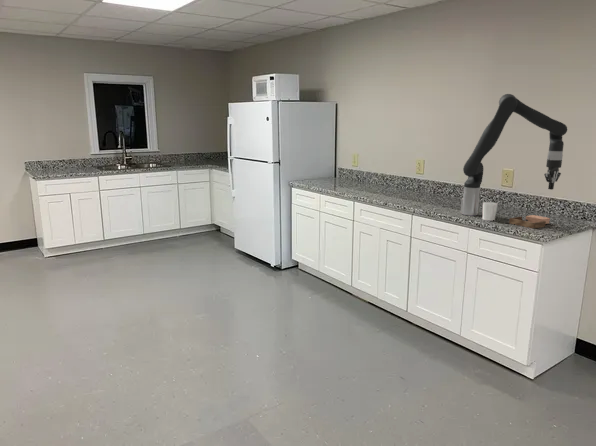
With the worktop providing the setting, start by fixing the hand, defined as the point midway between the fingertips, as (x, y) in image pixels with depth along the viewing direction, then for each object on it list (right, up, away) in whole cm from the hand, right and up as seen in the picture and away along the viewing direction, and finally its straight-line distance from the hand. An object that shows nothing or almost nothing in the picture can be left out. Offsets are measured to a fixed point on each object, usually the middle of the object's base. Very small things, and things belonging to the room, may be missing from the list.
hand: (550, 189), depth 266 cm
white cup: (-33, -18, +8) cm, 38 cm away
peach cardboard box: (-8, -20, -1) cm, 21 cm away
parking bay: (-16, -21, -5) cm, 27 cm away
